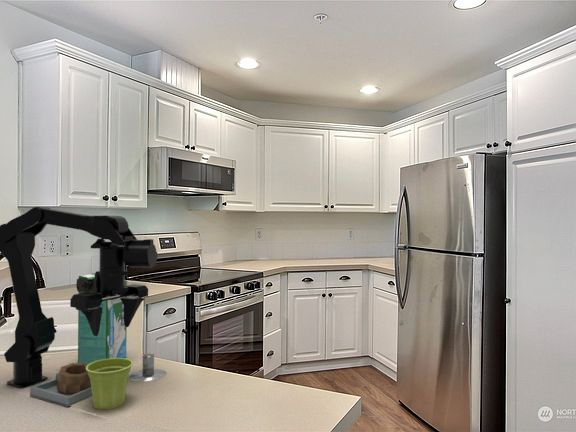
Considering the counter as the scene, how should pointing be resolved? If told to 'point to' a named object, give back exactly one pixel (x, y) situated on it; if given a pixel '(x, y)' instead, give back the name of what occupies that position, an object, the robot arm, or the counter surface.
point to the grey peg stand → (148, 371)
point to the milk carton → (102, 332)
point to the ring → (73, 378)
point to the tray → (57, 394)
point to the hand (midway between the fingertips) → (111, 331)
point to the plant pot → (109, 381)
